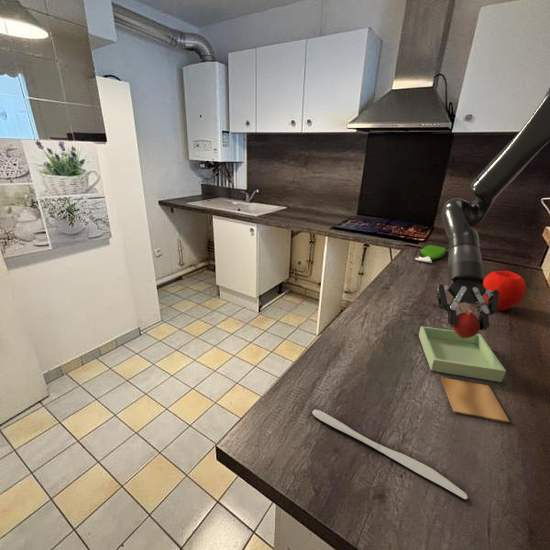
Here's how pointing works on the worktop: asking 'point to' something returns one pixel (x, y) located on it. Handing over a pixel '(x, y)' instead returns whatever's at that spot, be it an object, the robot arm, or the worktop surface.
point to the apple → (505, 288)
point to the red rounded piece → (467, 324)
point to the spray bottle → (431, 253)
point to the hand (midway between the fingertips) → (468, 327)
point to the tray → (460, 354)
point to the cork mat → (473, 400)
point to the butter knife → (393, 455)
